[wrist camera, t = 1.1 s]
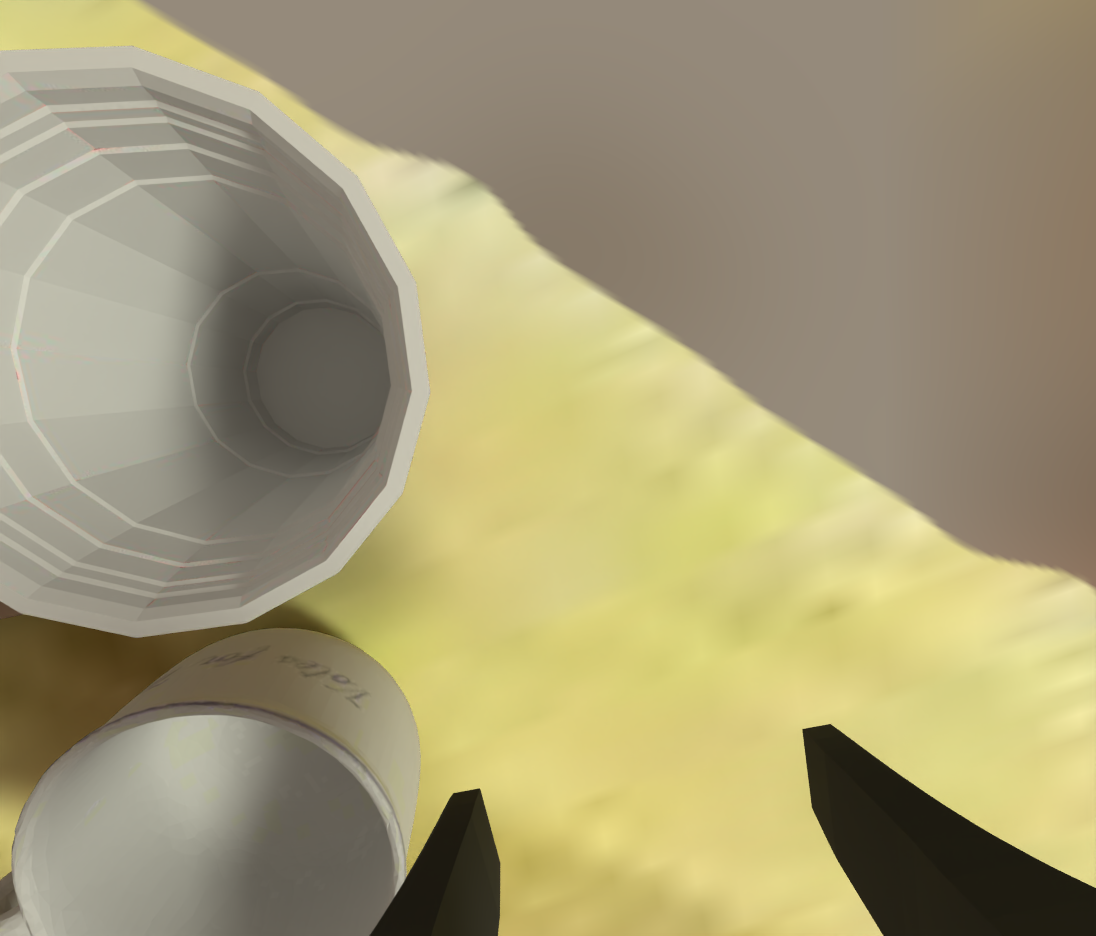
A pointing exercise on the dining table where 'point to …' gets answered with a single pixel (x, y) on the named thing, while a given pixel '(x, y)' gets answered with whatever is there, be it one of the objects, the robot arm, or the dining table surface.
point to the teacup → (227, 802)
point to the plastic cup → (187, 348)
